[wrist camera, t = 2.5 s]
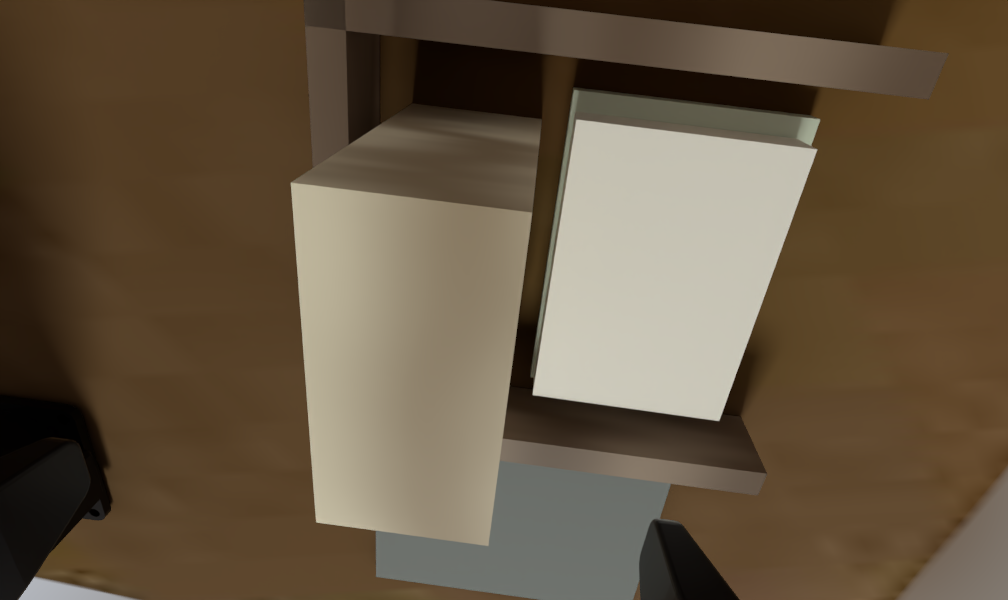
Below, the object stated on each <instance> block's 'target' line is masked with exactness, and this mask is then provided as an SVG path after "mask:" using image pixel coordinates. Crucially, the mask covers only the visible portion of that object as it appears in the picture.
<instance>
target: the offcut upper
mask: <svg viewBox="0 0 1008 600" xmlns="http://www.w3.org/2000/svg"><path fill="white" fill-rule="evenodd" d="M816 152H817V149H816V148H814V147H812V146H810V145H808V144H806V143H804V142H803V141H801V140H799V139H795V138H787V137H779V136H771V135H763V134H755V133H747V132H739V131H731V130H722V129H714V128H706V127H698V126H690V125H682V124H674V123H666V122H658V121H650V120H642V119H634V118H625V117H617V116H609V115H601V114H593V113H585V112H577V111H575V115H574V122H573V128H572V135H571V141H570V147H569V154H568V160H567V166H566V173H565V179H564V185H563V192H562V198H561V205H560V211H559V217H558V224H557V230H556V236H555V243H554V249H553V255H552V262H551V268H550V275H549V281H548V287H547V294H546V300H545V306H544V313H543V319H542V326H541V332H540V338H539V345H538V351H537V357H536V364H535V370H534V381H533V395H535V396H543V397H550V398H557V399H564V400H571V401H578V402H585V403H593V404H600V405H607V406H614V407H621V408H628V409H636V410H643V411H650V412H657V413H664V414H671V415H679V416H686V417H693V418H700V419H707V420H714V421H719V420H720V418H721V415H722V412H723V409H724V407H725V404H726V401H727V398H728V395H729V393H730V390H731V387H732V384H733V382H734V379H735V376H736V373H737V371H738V368H739V365H740V362H741V359H742V357H743V354H744V351H745V348H746V346H747V343H748V340H749V337H750V335H751V332H752V329H753V326H754V323H755V321H756V318H757V315H758V312H759V310H760V307H761V304H762V301H763V299H764V296H765V293H766V290H767V287H768V285H769V282H770V279H771V276H772V274H773V271H774V268H775V265H776V263H777V260H778V257H779V254H780V251H781V249H782V246H783V243H784V240H785V238H786V235H787V232H788V229H789V226H790V224H791V221H792V218H793V215H794V213H795V210H796V207H797V204H798V202H799V199H800V196H801V193H802V190H803V188H804V185H805V182H806V179H807V177H808V174H809V171H810V168H811V166H812V163H813V160H814V157H815V154H816Z"/></svg>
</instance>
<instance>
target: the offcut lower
mask: <svg viewBox="0 0 1008 600" xmlns="http://www.w3.org/2000/svg"><path fill="white" fill-rule="evenodd" d="M575 111H577V112H585V113H593V114H601V115H609V116H617V117H625V118H634V119H642V120H650V121H658V122H666V123H674V124H682V125H690V126H698V127H706V128H714V129H722V130H731V131H739V132H747V133H755V134H763V135H771V136H779V137H787V138H795V139H799V140H801V141H803V142H804V143H806V144H808V145H810V146H811V145H812V142H813V139H814V136H815V133H816V130H817V128H818V125H819V122H820V119H818V118H816V117H813V116H811V115H803V114H795V113H786V112H778V111H770V110H761V109H753V108H744V107H736V106H728V105H719V104H711V103H703V102H694V101H686V100H678V99H669V98H661V97H652V96H644V95H636V94H627V93H619V92H611V91H602V90H594V89H585V88H577V87H573V91H572V98H571V105H570V111H569V118H568V124H567V131H566V138H565V144H564V151H563V158H562V164H561V171H560V177H559V184H558V191H557V197H556V204H555V210H554V217H553V224H552V230H551V237H550V244H549V250H548V257H547V263H546V270H545V277H544V283H543V290H542V297H541V303H540V310H539V316H538V323H537V330H536V336H535V343H534V349H533V356H532V363H531V374H530V377H533V378H534V370H535V364H536V357H537V351H538V345H539V338H540V332H541V326H542V319H543V313H544V306H545V300H546V294H547V287H548V281H549V275H550V268H551V262H552V255H553V249H554V243H555V236H556V230H557V224H558V217H559V211H560V205H561V198H562V192H563V185H564V179H565V173H566V166H567V160H568V154H569V147H570V141H571V135H572V128H573V122H574V115H575Z"/></svg>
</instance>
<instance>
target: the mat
mask: <svg viewBox="0 0 1008 600" xmlns="http://www.w3.org/2000/svg"><path fill="white" fill-rule="evenodd" d="M670 485H671V484H670V483H662V482H655V481H647V480H640V479H632V478H625V477H617V476H610V475H603V474H595V473H588V472H580V471H573V470H565V469H558V468H550V467H543V466H536V465H528V464H521V463H513V462H506V461H499V469H498V477H497V484H496V492H495V499H494V507H493V515H492V522H491V530H490V537H489V545H488V546H485V545H477V544H470V543H463V542H456V541H448V540H441V539H434V538H427V537H419V536H412V535H405V534H397V533H390V532H383V531H376V577H382V578H389V579H396V580H403V581H410V582H417V583H425V584H432V585H439V586H446V587H453V588H460V589H468V590H475V591H482V592H489V593H496V594H503V595H511V596H518V597H525V598H532V599H539V600H633V598H634V595H635V592H636V589H637V586H638V582H639V579H640V578H639V559H640V553H641V550H642V547H643V544H644V541H645V537H646V534H647V531H648V528H649V525H650V523H651V521H652V520H653V519H656V518H658V519H660V515H661V512H662V509H663V506H664V503H665V500H666V497H667V494H668V491H669V488H670Z"/></svg>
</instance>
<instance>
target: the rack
mask: <svg viewBox="0 0 1008 600" xmlns="http://www.w3.org/2000/svg"><path fill="white" fill-rule="evenodd" d="M304 14H305V33H306V51H307V69H308V87H309V105H310V123H311V141H312V160H313V168H314V167H316V166H317V165H319V164H320V163H322V162H323V161H325V160H326V159H328V158H329V157H331V156H332V155H334V154H336V153H337V152H339V151H340V150H342V149H343V148H345V147H346V146H348V145H349V144H351V143H352V142H354V141H355V140H357V139H359V138H360V137H362V136H363V135H365V134H366V133H368V132H369V131H371V130H372V129H374V128H375V127H377V126H379V125H380V35H388V36H396V37H405V38H413V39H421V40H430V41H438V42H447V43H455V44H464V45H472V46H481V47H489V48H498V49H506V50H515V51H523V52H532V53H540V54H549V55H557V56H566V57H574V58H582V59H591V60H599V61H608V62H616V63H625V64H633V65H642V66H650V67H659V68H667V69H676V70H684V71H693V72H701V73H710V74H718V75H726V76H735V77H743V78H752V79H760V80H769V81H777V82H786V83H794V84H803V85H811V86H820V87H828V88H837V89H845V90H854V91H862V92H871V93H879V94H887V95H896V96H904V97H913V98H921V99H929V98H930V96H931V93H932V91H933V89H934V86H935V84H936V82H937V79H938V77H939V75H940V72H941V70H942V68H943V65H944V63H945V61H946V59H947V56H948V53H939V52H931V51H922V50H914V49H905V48H896V47H888V46H879V45H871V44H862V43H853V42H845V41H836V40H827V39H819V38H810V37H802V36H793V35H784V34H776V33H767V32H759V31H750V30H741V29H733V28H724V27H716V26H707V25H698V24H690V23H681V22H672V21H664V20H655V19H647V18H638V17H629V16H621V15H612V14H604V13H595V12H586V11H578V10H569V9H561V8H552V7H543V6H535V5H526V4H518V3H509V2H500V1H492V0H304ZM500 461H506V462H513V463H521V464H528V465H536V466H543V467H550V468H558V469H565V470H573V471H580V472H588V473H595V474H603V475H610V476H617V477H625V478H632V479H640V480H647V481H655V482H662V483H670V484H677V485H684V486H692V487H699V488H707V489H714V490H722V491H729V492H737V493H744V494H751V495H758V494H759V492H760V489H761V487H762V485H763V482H764V480H765V478H766V475H767V472H766V470H765V468H764V466H763V464H762V462H761V459H760V457H759V455H758V453H757V451H756V449H755V447H754V444H753V442H752V440H751V438H750V436H749V434H748V431H747V429H746V427H745V425H744V423H743V421H742V418H741V417H740V416H732V415H724V414H722V415H721V418H720V420H719V421H714V420H707V419H700V418H693V417H686V416H679V415H671V414H664V413H657V412H650V411H643V410H636V409H628V408H621V407H614V406H607V405H600V404H593V403H585V402H578V401H571V400H564V399H557V398H550V397H543V396H535V395H533V389H526V388H519V387H511V386H509V393H508V401H507V408H506V416H505V424H504V431H503V439H502V446H501V454H500Z"/></svg>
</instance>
